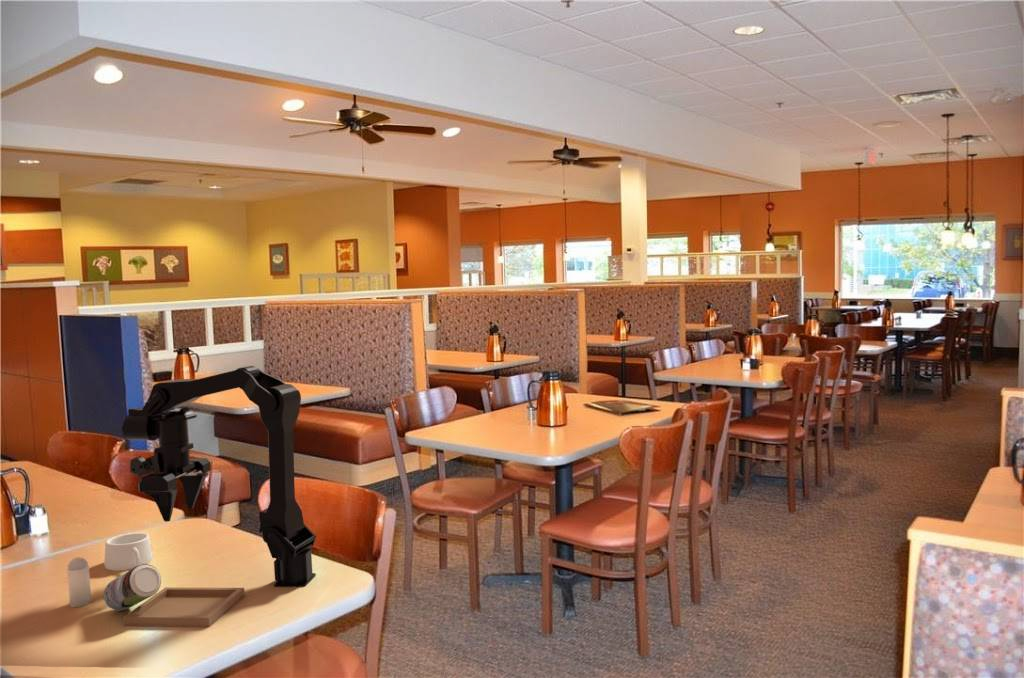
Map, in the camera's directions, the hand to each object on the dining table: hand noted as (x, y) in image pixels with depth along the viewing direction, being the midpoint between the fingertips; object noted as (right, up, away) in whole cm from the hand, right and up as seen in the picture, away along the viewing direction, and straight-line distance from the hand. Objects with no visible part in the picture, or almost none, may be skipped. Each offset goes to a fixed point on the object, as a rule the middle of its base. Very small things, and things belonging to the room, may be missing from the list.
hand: (178, 514), depth 168 cm
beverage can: (+5, -7, -23) cm, 24 cm away
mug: (-13, -13, +7) cm, 20 cm away
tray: (+9, -13, -19) cm, 25 cm away
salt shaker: (-13, -14, -14) cm, 24 cm away
